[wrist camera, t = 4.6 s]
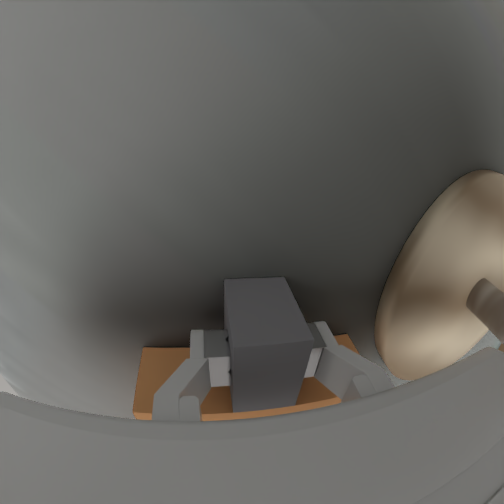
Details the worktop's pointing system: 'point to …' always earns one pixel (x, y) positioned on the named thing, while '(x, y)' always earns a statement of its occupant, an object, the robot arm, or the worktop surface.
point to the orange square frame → (250, 357)
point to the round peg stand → (446, 280)
